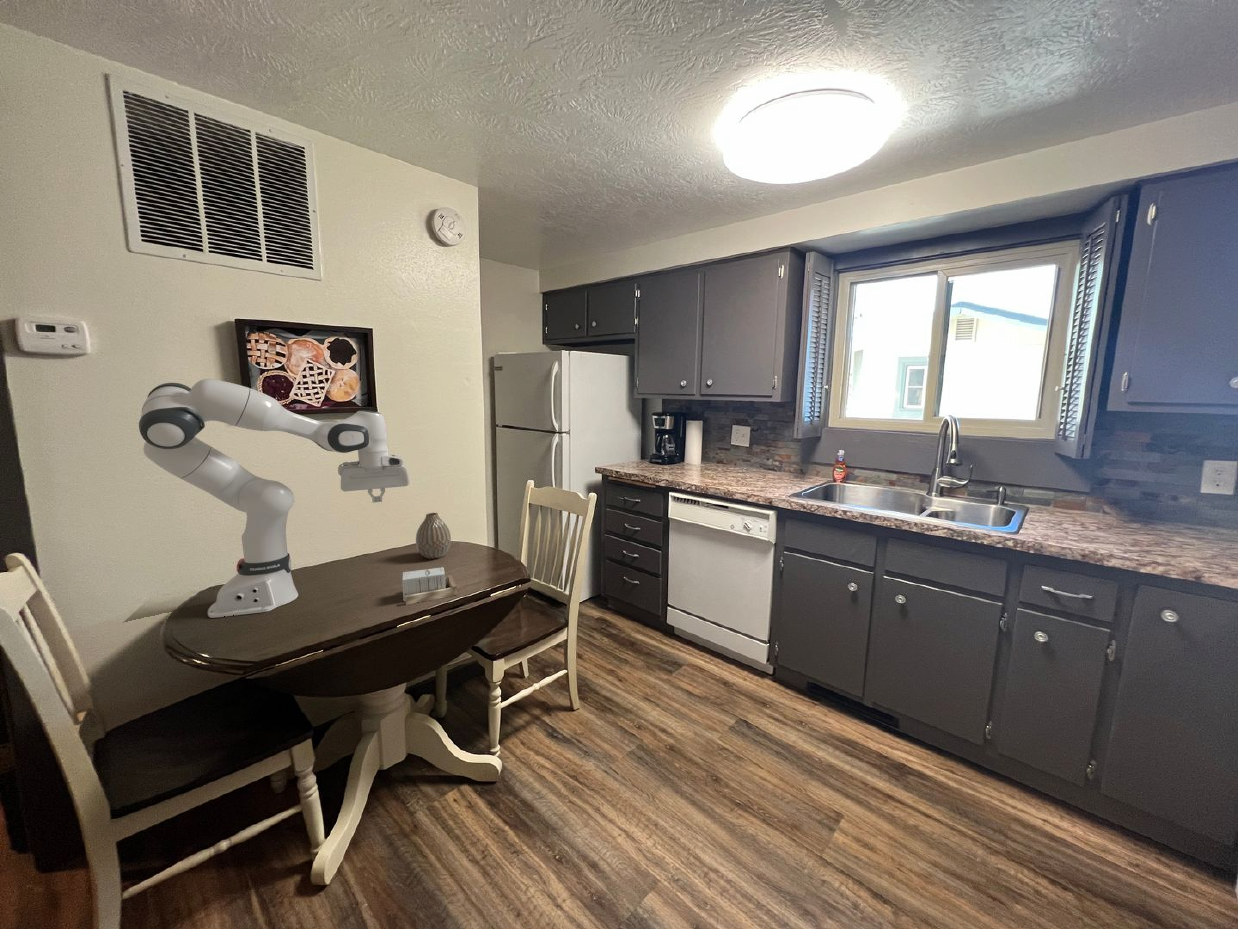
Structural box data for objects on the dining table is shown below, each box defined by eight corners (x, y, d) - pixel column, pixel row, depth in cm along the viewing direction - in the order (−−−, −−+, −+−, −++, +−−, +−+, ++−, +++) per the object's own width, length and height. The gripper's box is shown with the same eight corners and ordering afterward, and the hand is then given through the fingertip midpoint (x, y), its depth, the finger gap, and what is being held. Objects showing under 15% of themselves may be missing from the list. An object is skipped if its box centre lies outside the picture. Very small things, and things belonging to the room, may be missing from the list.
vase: (456, 551, 202) (453, 509, 200) (445, 561, 189) (442, 517, 187) (424, 551, 202) (421, 510, 199) (411, 562, 189) (408, 518, 187)
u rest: (406, 604, 150) (405, 595, 150) (403, 591, 160) (402, 583, 160) (457, 595, 157) (456, 586, 156) (451, 583, 167) (451, 575, 166)
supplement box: (402, 571, 158) (443, 566, 162) (403, 593, 159) (444, 587, 163) (401, 579, 151) (445, 573, 156) (403, 602, 152) (446, 595, 157)
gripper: (336, 463, 151) (340, 507, 153) (408, 459, 161) (411, 500, 163) (337, 461, 157) (341, 503, 159) (406, 457, 166) (409, 497, 168)
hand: (377, 502), depth 161 cm, fingers closed
